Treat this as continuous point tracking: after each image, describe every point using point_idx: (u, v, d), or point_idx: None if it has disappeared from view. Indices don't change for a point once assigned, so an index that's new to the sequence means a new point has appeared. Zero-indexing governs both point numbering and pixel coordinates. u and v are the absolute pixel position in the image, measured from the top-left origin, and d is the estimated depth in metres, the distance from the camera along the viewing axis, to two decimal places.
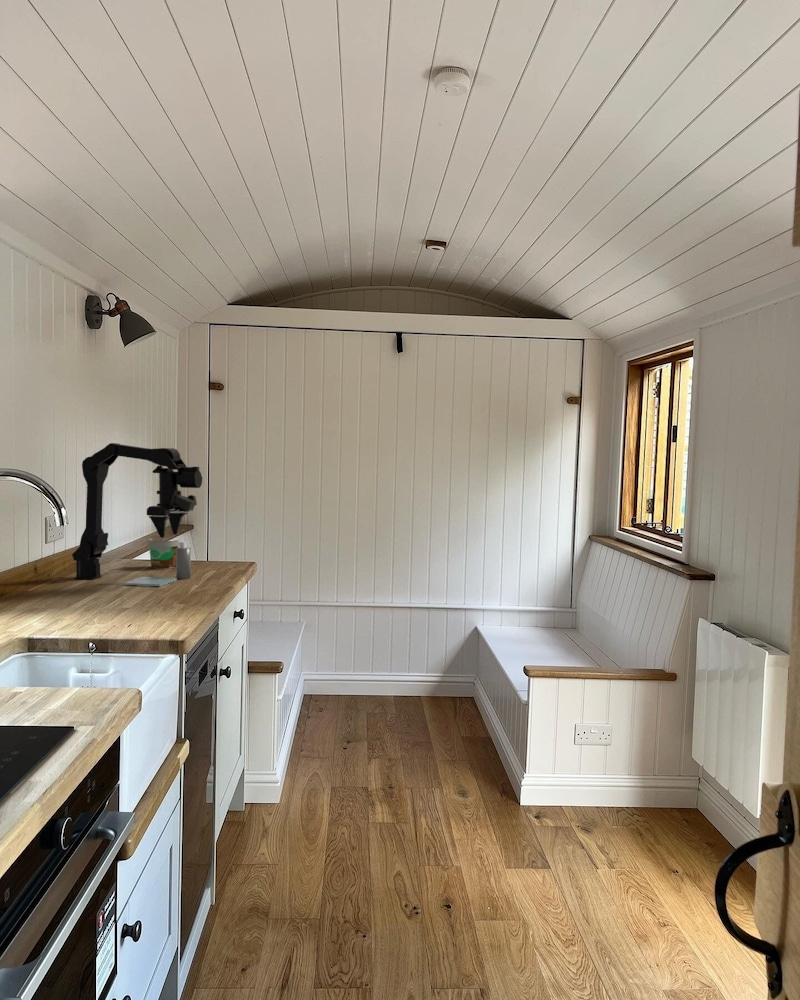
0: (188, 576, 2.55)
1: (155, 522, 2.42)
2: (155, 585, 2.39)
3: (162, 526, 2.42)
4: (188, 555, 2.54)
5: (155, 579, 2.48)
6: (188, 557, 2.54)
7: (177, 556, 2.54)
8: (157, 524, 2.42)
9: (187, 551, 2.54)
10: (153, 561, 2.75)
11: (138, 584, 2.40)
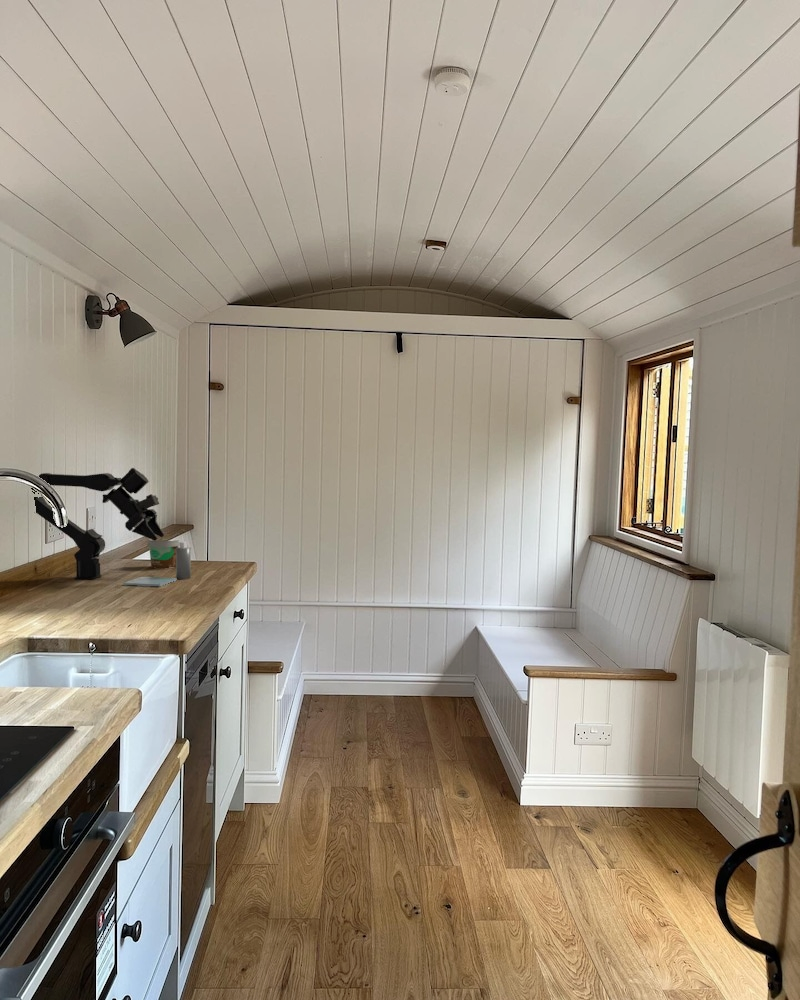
0: (188, 576, 2.55)
1: (140, 532, 2.48)
2: (155, 585, 2.39)
3: (148, 530, 2.48)
4: (188, 555, 2.54)
5: (155, 579, 2.48)
6: (188, 557, 2.54)
7: (177, 556, 2.54)
8: (143, 532, 2.48)
9: (187, 551, 2.54)
10: (153, 561, 2.75)
11: (138, 584, 2.40)
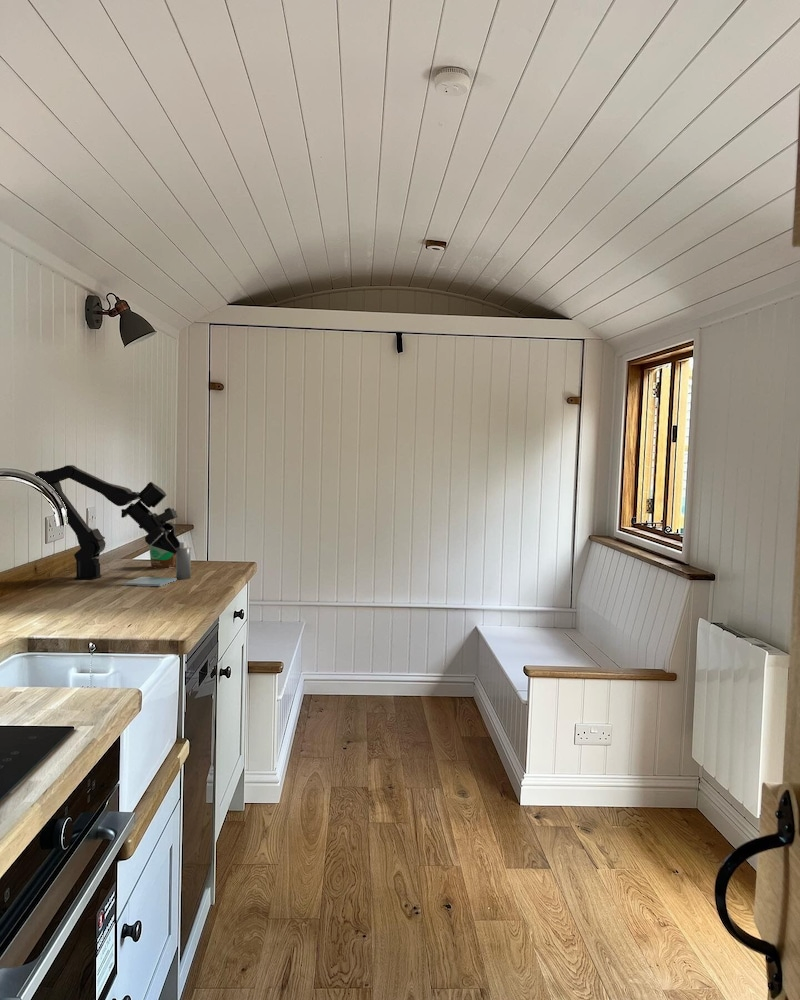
0: (188, 576, 2.55)
1: (160, 546, 2.49)
2: (155, 585, 2.39)
3: (168, 543, 2.49)
4: (188, 555, 2.54)
5: (155, 579, 2.48)
6: (188, 557, 2.54)
7: (177, 556, 2.54)
8: (163, 546, 2.49)
9: (187, 551, 2.54)
10: (153, 561, 2.75)
11: (138, 584, 2.40)
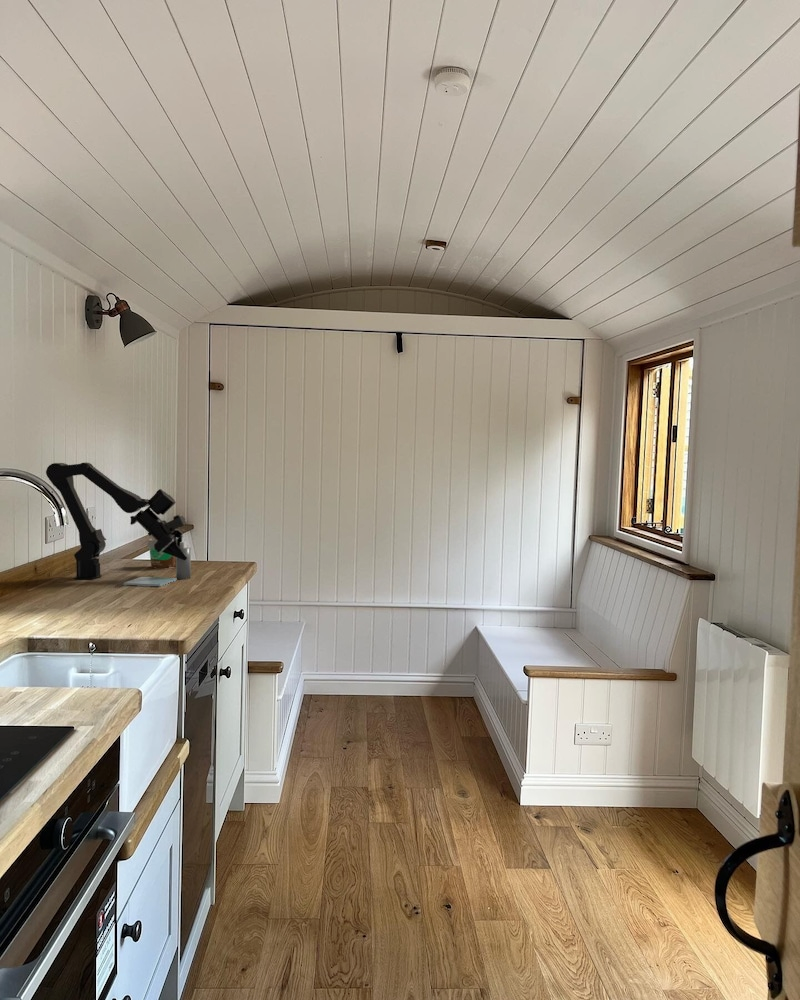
0: (188, 576, 2.55)
1: (171, 552, 2.51)
2: (155, 585, 2.39)
3: (178, 550, 2.52)
4: (188, 555, 2.54)
5: (155, 579, 2.48)
6: (188, 557, 2.54)
7: None
8: (173, 552, 2.51)
9: (187, 551, 2.54)
10: (153, 561, 2.75)
11: (138, 584, 2.40)
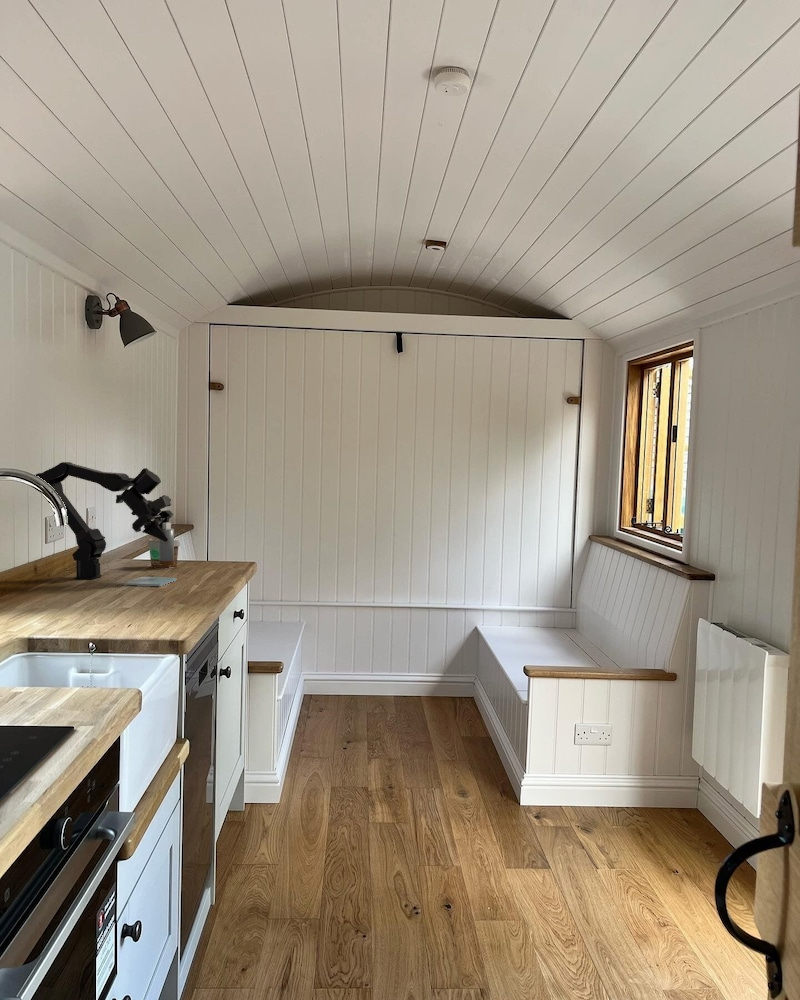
0: (170, 558, 2.48)
1: (151, 533, 2.46)
2: (155, 585, 2.39)
3: (159, 531, 2.46)
4: (170, 536, 2.48)
5: (155, 579, 2.48)
6: (170, 538, 2.48)
7: None
8: (154, 533, 2.46)
9: (169, 532, 2.47)
10: (153, 561, 2.75)
11: (138, 584, 2.40)
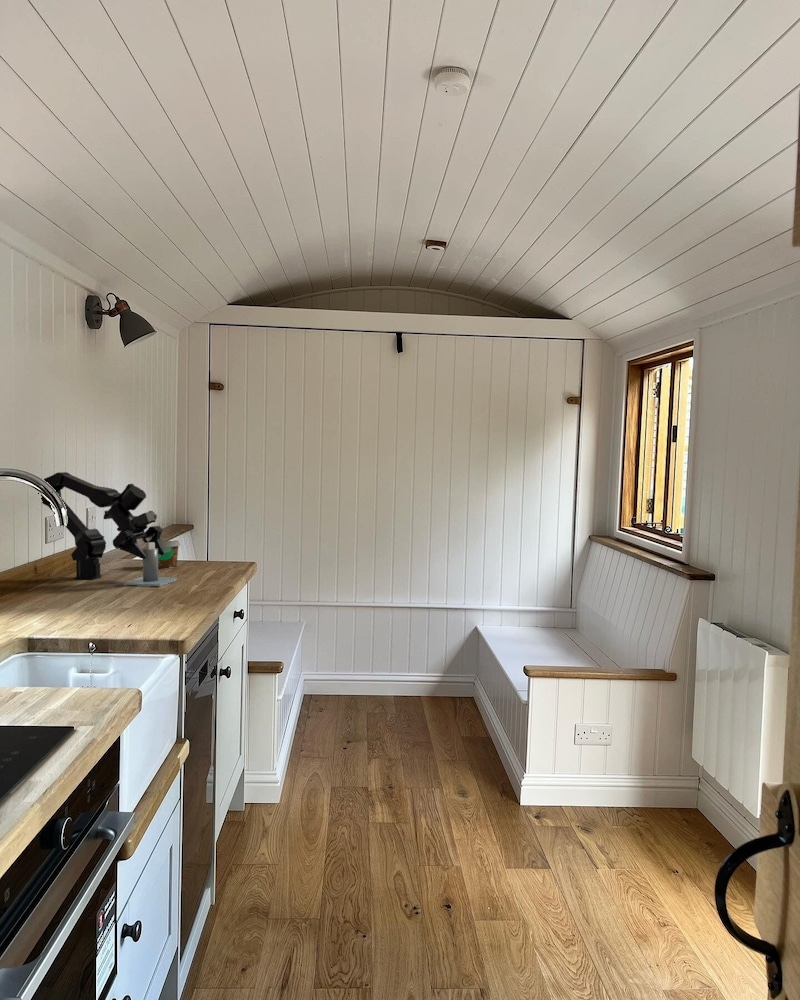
0: (153, 579, 2.44)
1: (129, 550, 2.40)
2: (155, 585, 2.39)
3: (136, 548, 2.40)
4: (153, 557, 2.44)
5: None
6: (153, 559, 2.44)
7: None
8: (132, 550, 2.40)
9: (152, 552, 2.43)
10: None
11: (138, 584, 2.40)
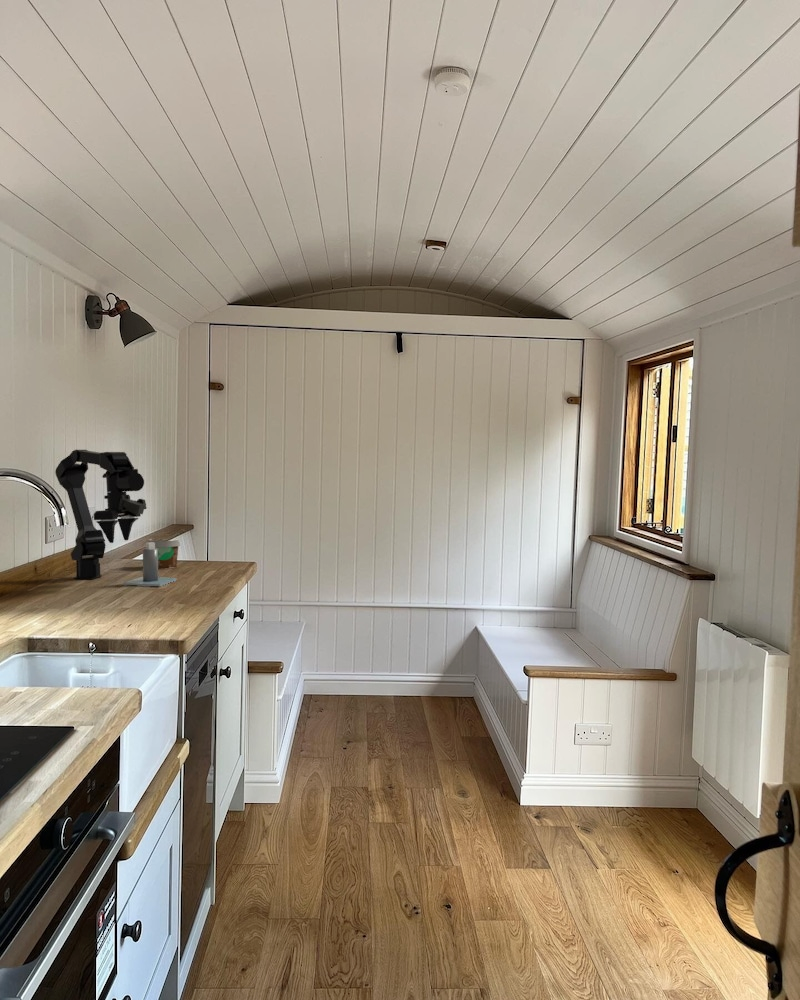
0: (153, 579, 2.44)
1: (103, 527, 2.37)
2: (155, 585, 2.39)
3: (110, 531, 2.37)
4: (153, 557, 2.44)
5: None
6: (153, 559, 2.44)
7: (143, 557, 2.44)
8: (105, 529, 2.37)
9: (152, 552, 2.43)
10: None
11: (138, 584, 2.40)
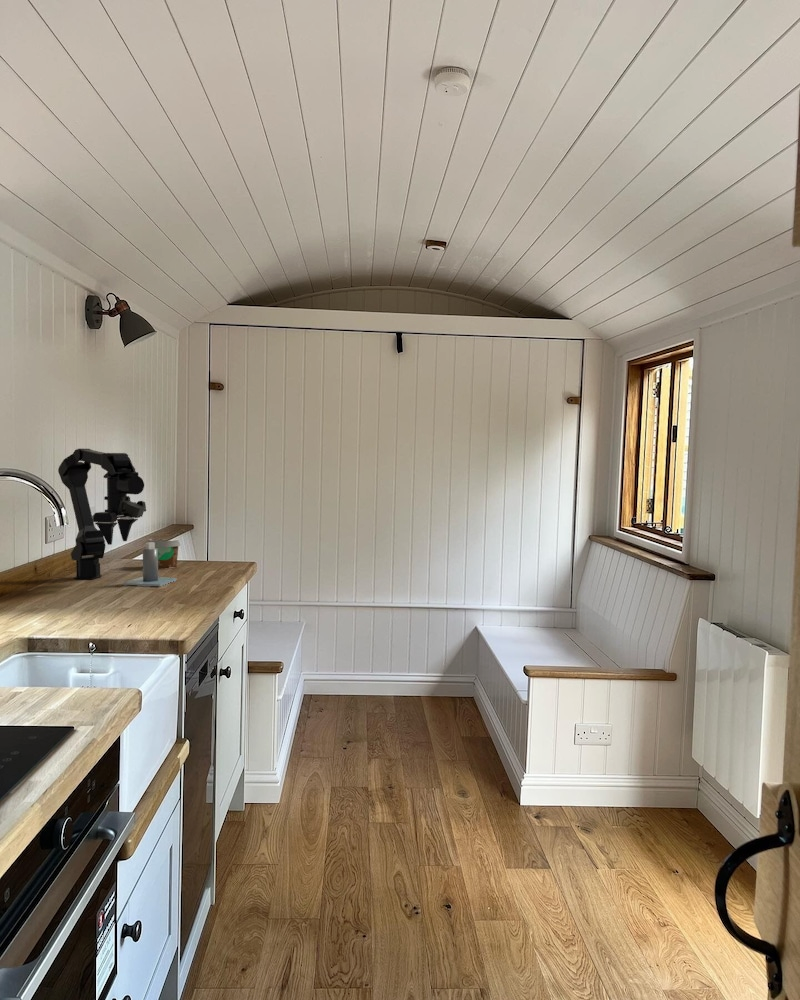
0: (153, 578, 2.44)
1: (102, 529, 2.36)
2: (155, 585, 2.39)
3: (109, 533, 2.37)
4: (153, 556, 2.44)
5: None
6: (153, 559, 2.44)
7: (143, 557, 2.45)
8: (104, 531, 2.37)
9: (152, 552, 2.44)
10: None
11: (138, 584, 2.40)
